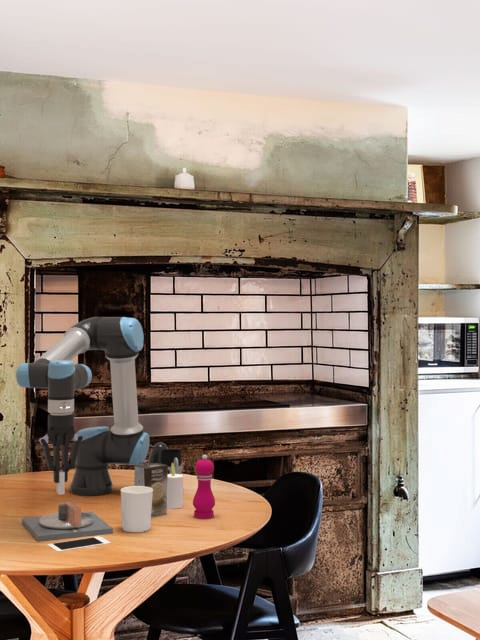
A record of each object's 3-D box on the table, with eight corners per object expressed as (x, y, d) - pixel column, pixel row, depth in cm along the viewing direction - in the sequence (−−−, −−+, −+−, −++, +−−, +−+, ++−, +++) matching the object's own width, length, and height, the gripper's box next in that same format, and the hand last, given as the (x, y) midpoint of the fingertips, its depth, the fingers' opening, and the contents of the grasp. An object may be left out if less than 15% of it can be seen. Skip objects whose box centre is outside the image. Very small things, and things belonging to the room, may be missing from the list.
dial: (32, 519, 249) (33, 499, 249) (83, 513, 257) (83, 494, 257) (50, 533, 234) (51, 512, 234) (103, 527, 242) (104, 506, 242)
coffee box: (145, 518, 259) (145, 468, 259) (132, 514, 264) (133, 465, 264) (167, 514, 266) (168, 464, 265) (155, 510, 270) (156, 462, 270)
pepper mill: (218, 514, 266) (219, 453, 265) (210, 520, 259) (211, 457, 258) (197, 512, 268) (198, 452, 268) (189, 517, 261) (190, 455, 261)
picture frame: (179, 488, 304) (179, 448, 304) (188, 497, 291) (189, 455, 290) (156, 489, 301) (156, 449, 301) (164, 498, 288) (165, 455, 288)
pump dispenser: (149, 478, 322) (150, 439, 322) (175, 479, 320) (176, 440, 320) (143, 483, 312) (143, 443, 312) (169, 484, 310) (170, 445, 310)
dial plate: (91, 516, 261) (91, 511, 261) (112, 533, 241) (112, 527, 241) (22, 522, 251) (22, 517, 251) (38, 541, 232) (38, 535, 232)
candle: (187, 506, 276) (187, 462, 276) (172, 509, 271) (173, 464, 271) (174, 503, 280) (175, 459, 280) (160, 506, 276) (161, 462, 275)
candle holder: (138, 535, 240) (139, 494, 240) (113, 529, 245) (113, 490, 245) (159, 528, 248) (159, 488, 248) (134, 523, 254) (134, 484, 253)
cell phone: (111, 544, 231) (111, 542, 231) (57, 553, 222) (57, 551, 222) (99, 538, 238) (99, 535, 238) (46, 546, 228) (46, 544, 228)
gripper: (43, 416, 232) (42, 498, 233) (86, 413, 239) (86, 493, 240) (35, 413, 238) (34, 493, 239) (77, 410, 245) (77, 488, 246)
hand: (60, 493), depth 239 cm, fingers closed
